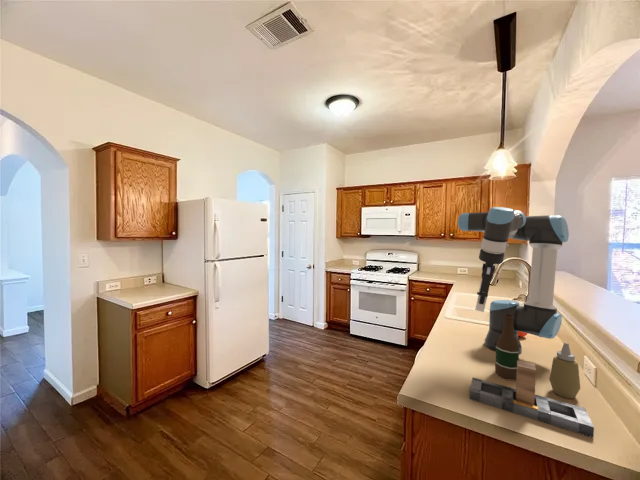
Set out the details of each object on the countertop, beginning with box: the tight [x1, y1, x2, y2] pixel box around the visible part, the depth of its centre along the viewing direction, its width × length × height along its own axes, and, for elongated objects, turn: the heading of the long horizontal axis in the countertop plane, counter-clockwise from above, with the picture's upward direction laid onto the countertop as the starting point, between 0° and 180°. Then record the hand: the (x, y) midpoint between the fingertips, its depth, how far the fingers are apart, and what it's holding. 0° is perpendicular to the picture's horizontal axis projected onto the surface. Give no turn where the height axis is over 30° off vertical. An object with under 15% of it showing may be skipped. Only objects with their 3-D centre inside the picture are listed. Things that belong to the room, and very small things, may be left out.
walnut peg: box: [515, 360, 537, 405], centre depth 87 cm, size 4×4×14 cm
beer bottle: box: [494, 314, 520, 381], centre depth 107 cm, size 8×8×24 cm
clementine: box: [518, 331, 528, 338], centre depth 148 cm, size 8×7×7 cm
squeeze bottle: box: [548, 342, 581, 400], centre depth 95 cm, size 8×8×18 cm
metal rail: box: [469, 377, 595, 438], centre depth 87 cm, size 30×10×3 cm, turn 56°
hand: (480, 302), depth 105 cm, fingers open, 13 cm apart
